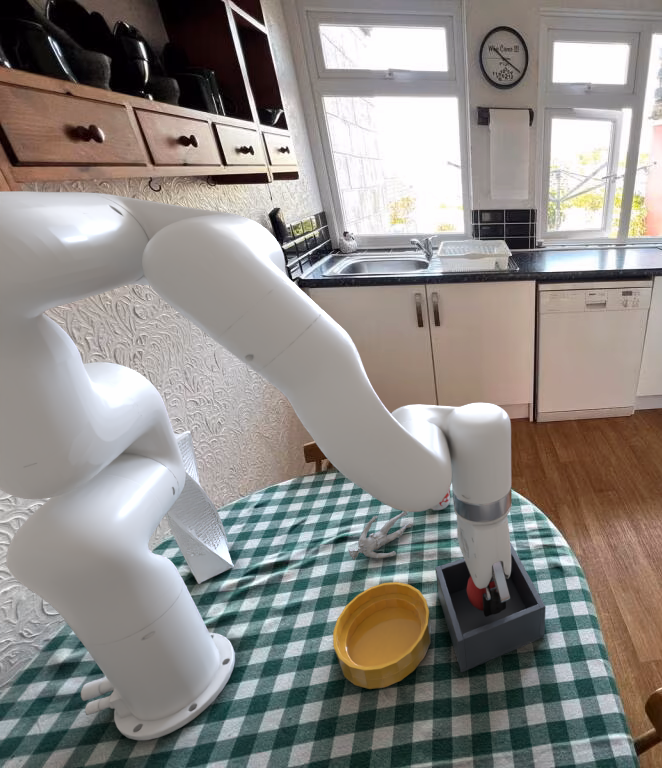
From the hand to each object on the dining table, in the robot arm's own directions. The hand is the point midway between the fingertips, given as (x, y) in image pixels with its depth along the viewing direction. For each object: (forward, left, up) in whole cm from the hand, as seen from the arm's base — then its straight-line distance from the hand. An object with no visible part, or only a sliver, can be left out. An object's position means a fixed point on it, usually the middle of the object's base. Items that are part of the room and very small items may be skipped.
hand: (486, 591), depth 61 cm
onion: (0, 0, -3) cm, 3 cm away
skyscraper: (-41, +28, -6) cm, 50 cm away
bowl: (-15, +2, -5) cm, 16 cm away
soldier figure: (-13, +21, -6) cm, 25 cm away
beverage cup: (-1, +28, -6) cm, 29 cm away
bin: (0, 0, -5) cm, 5 cm away
